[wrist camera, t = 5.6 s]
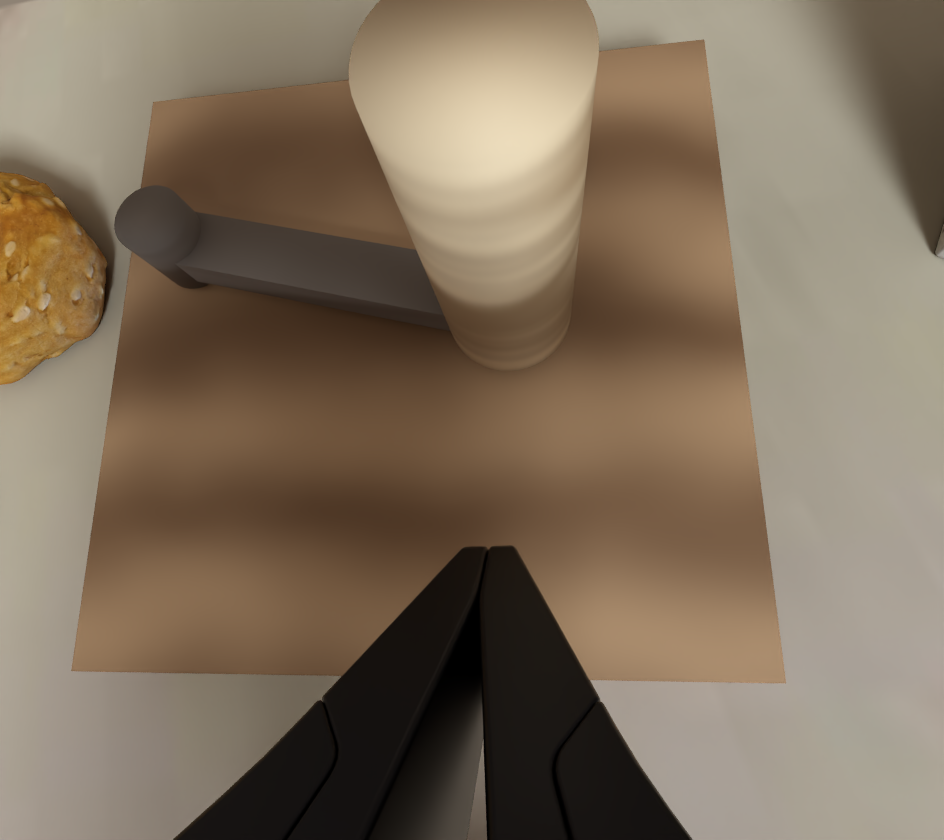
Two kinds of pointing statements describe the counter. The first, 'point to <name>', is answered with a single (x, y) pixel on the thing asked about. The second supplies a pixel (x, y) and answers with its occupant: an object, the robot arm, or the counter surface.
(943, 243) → the coffee box
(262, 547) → the stool seat
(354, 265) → the folding leg
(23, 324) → the bagel
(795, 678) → the counter surface
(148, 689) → the counter surface
